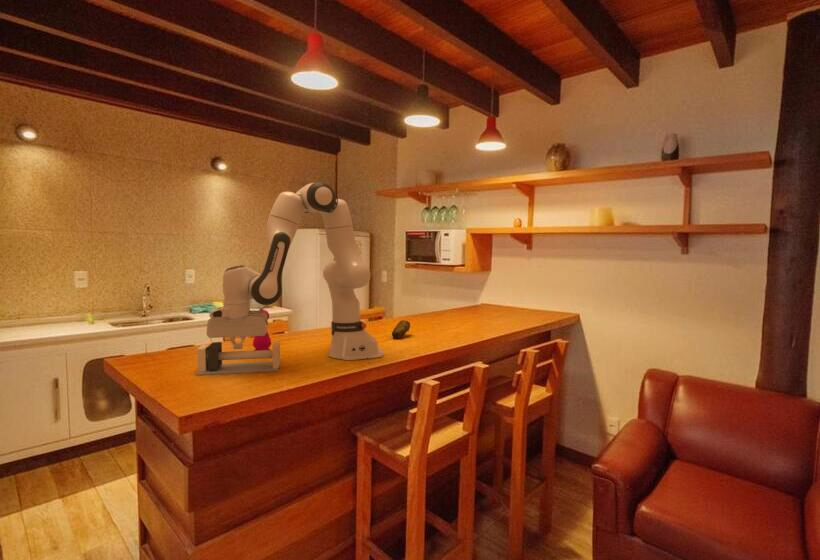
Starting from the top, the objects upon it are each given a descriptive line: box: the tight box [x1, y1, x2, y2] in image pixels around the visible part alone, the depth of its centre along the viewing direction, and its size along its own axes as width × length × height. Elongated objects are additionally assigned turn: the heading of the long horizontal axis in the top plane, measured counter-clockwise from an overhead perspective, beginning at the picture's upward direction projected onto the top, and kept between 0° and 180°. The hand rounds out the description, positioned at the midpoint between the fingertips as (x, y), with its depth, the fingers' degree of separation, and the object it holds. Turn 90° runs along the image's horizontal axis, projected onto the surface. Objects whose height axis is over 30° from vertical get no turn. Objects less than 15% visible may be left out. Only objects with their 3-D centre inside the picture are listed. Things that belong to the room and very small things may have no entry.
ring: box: [208, 341, 223, 370], centre depth 157 cm, size 3×8×8 cm, turn 12°
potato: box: [391, 320, 411, 340], centre depth 218 cm, size 8×13×8 cm, turn 135°
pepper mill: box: [252, 305, 272, 351], centre depth 181 cm, size 7×7×20 cm
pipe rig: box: [195, 341, 281, 376], centre depth 159 cm, size 27×12×9 cm, turn 102°
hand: (238, 348), depth 159 cm, fingers closed
